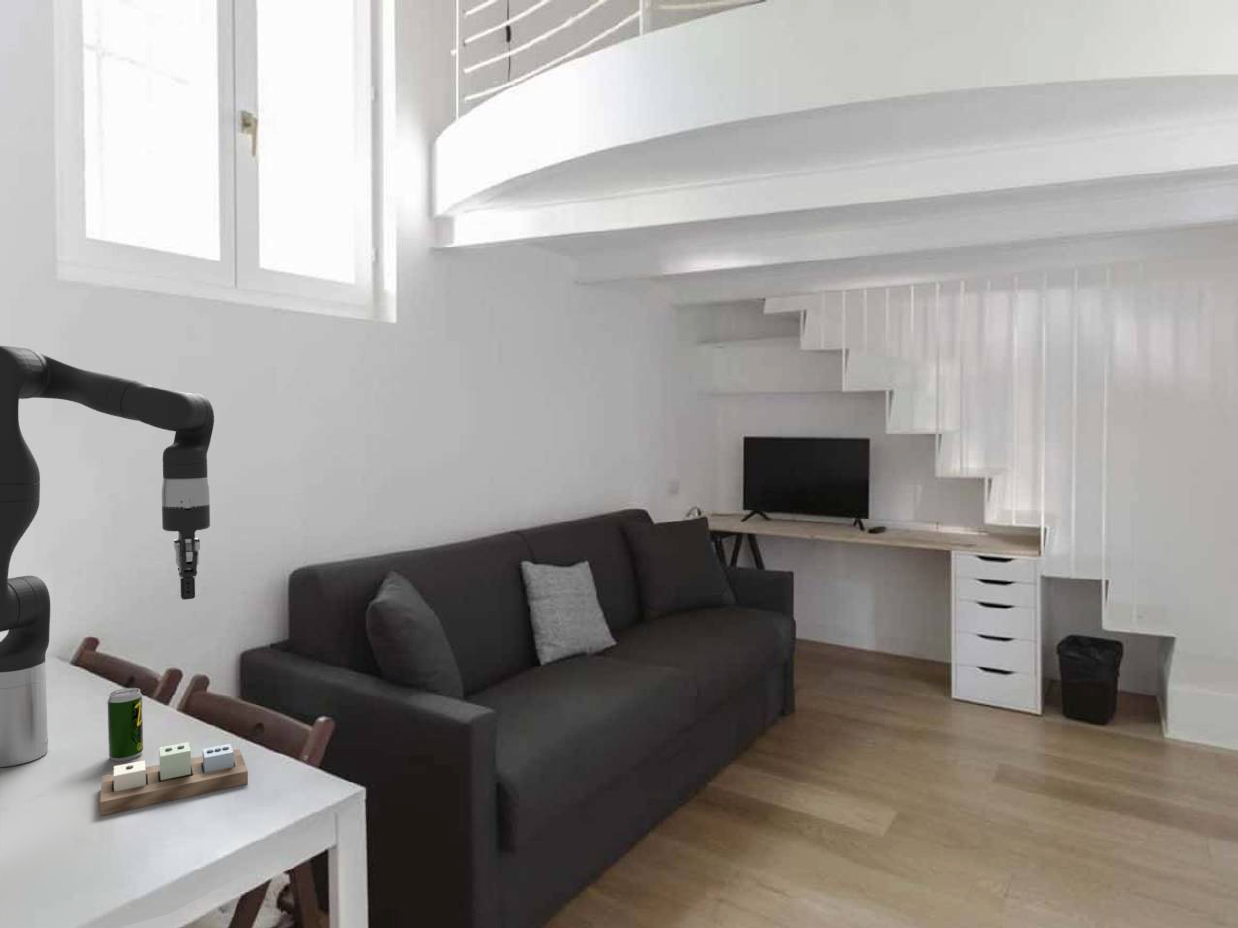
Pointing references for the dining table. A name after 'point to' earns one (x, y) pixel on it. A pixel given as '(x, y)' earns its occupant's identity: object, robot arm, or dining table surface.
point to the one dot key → (129, 775)
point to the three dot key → (218, 758)
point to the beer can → (125, 724)
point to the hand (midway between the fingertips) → (187, 598)
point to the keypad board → (171, 785)
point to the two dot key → (175, 760)
